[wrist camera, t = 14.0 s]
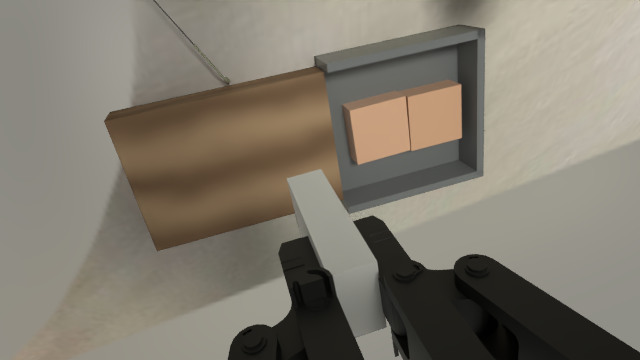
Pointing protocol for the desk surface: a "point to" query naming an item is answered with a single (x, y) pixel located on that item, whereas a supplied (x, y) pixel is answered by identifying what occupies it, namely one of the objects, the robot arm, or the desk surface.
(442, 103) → the tile
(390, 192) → the tray
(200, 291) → the desk surface
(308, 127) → the wooden plank
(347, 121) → the tile
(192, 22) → the desk surface
